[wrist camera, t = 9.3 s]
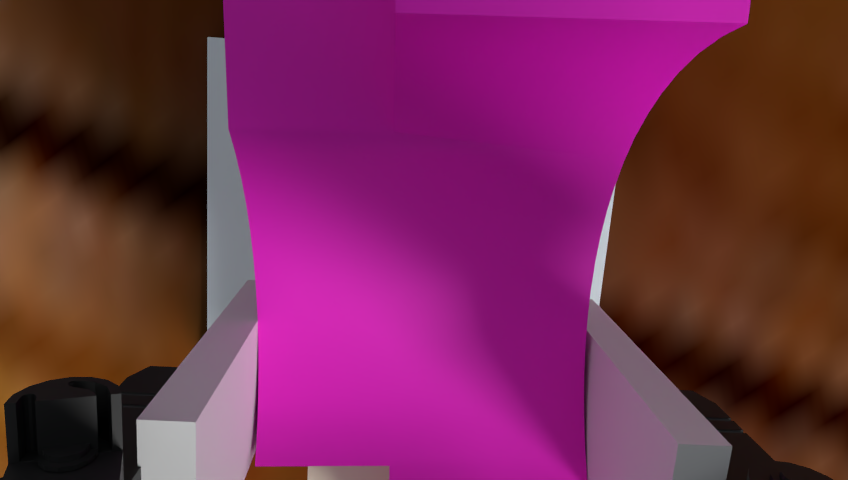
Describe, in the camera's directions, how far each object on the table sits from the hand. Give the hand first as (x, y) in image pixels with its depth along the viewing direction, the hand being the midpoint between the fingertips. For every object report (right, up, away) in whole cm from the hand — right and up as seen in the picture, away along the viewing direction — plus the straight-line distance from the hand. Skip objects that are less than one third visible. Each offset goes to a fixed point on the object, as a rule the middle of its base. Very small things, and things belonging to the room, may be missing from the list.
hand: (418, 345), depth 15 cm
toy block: (0, +2, 0) cm, 2 cm away
